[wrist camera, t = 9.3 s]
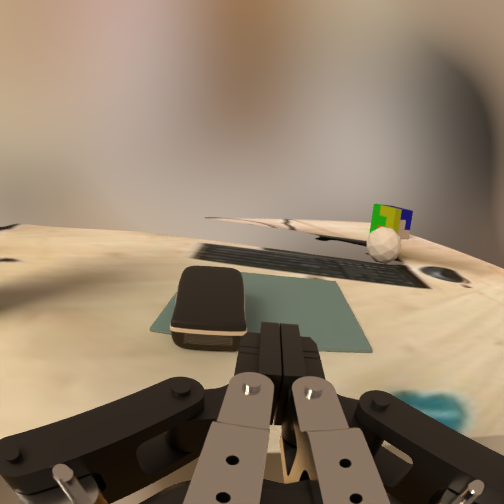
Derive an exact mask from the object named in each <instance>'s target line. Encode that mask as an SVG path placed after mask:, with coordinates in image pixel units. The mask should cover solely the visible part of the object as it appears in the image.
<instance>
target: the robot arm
mask: <svg viewBox="0 0 504 504" xmlns="http://www.w3.org/2000/svg"><path fill="white" fill-rule="evenodd" d="M318 352H319V351H318V347H317V344H316V343H315V342H314V341H313V340H312V339H311V338H310V337H302V336H300V331H299V325H298V324H286V323H280V327H279V323H274V322H263V321H261V328H260V333H254V332H247V333H245V334H244V335H243V336H242V337H241V340H240V346H239V351H238V357H237V363H236V368H235V374H234V377H232V378H231V380H230V382H229V384H227V385H226V386H223V387H221V388H216V389H205V390H204V388H203V386H202V385H201V384H200V383H199V382H198V381H196V380H194V379H191V378H187V377H173V378H169V379H167V380H164V381H162V382H160V383H158V384H155V385H153V386H150V387H148V388H146V389H143V390H141V391H138V392H136V393H134V394H131V395H129V396H126V397H124V398H121V399H118V400H116V401H113V402H111V403H108V404H105V405H103V406H100V407H97V408H95V409H92V410H89V411H87V412H84V413H81V414H78V415H75V416H72V417H70V418H67V419H64V420H61V421H58V422H55V423H52V424H48V425H45V426H42V427H39V428H36V429H32V430H29V431H26V432H22V433H19V434H15V435H12V436H8V437H5V438H2V439H0V475H1V476H2V477H3V479H4V480H5V481H6V483H7V485H8V486H9V487H10V488H11V490H12V491H13V492H14V493H15V494H16V495H17V497H18V500H19V502H20V504H110V503H113V502H115V501H117V500H119V499H122V498H124V497H126V496H128V495H130V494H132V493H134V492H136V491H138V490H140V489H142V488H144V487H146V486H148V485H150V484H152V483H154V482H156V481H158V480H159V479H161V478H163V477H165V476H167V475H169V474H170V473H172V472H174V471H176V470H177V469H179V468H181V467H183V466H184V465H186V464H188V463H190V462H191V461H193V460H194V459H196V458H198V457H199V456H200V457H199V460H198V463H197V466H196V469H195V471H194V474H193V477H192V480H190V481H186V482H181V483H178V484H175V485H172V486H170V487H168V488H166V489H164V490H162V491H160V492H158V493H157V494H155V495H153V496H152V497H150V498H148V499H147V500H145V501H143V502H141V503H139V504H504V456H503V455H501V454H499V453H497V452H495V451H493V450H491V449H489V448H487V447H485V446H483V445H481V444H479V443H477V442H475V441H473V440H472V439H470V438H468V437H466V436H464V435H462V434H460V433H458V432H457V431H455V430H453V429H451V428H449V427H447V426H445V425H444V424H442V423H440V422H438V421H436V420H435V419H433V418H431V417H429V416H427V415H426V414H424V413H422V412H420V411H419V410H417V409H415V408H413V407H412V406H410V405H408V404H406V403H405V402H403V401H401V400H400V399H398V398H396V397H394V396H393V395H391V394H389V393H387V392H384V391H378V390H374V391H368V392H366V393H364V394H363V395H362V396H361V397H360V399H359V400H356V399H351V398H347V397H343V396H340V395H338V394H336V391H335V389H334V387H333V385H332V384H331V383H330V382H328V381H327V380H325V376H324V372H323V368H322V363H321V359H320V355H319V353H318ZM273 419H274V425H282V433H281V437H280V451H281V459H282V467H283V475H284V484H282V483H278V482H273V481H270V480H266V479H263V477H264V470H265V463H266V456H267V448H268V441H269V432H270V429H269V425H272V424H273ZM384 440H385V441H387V442H388V443H390V444H391V445H393V446H395V447H396V448H398V449H399V450H401V451H402V452H404V453H406V454H407V455H409V456H410V457H411V458H412V461H413V464H409V463H407V462H406V461H404V460H402V459H401V458H399V457H398V456H396V455H395V454H393V453H391V452H390V451H388V450H387V449H385V448H384V447H382V446H381V445H382V443H383V441H384Z"/></svg>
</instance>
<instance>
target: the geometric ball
mask: <svg viewBox="0 0 504 504" xmlns="http://www.w3.org/2000/svg"><path fill="white" fill-rule="evenodd" d="M367 250H368V253H369V255H370V256H371V257H372V258H373V259H374V261H376V262H381V263H385V264H386V263H388V262H390V261H392V260H395V259H396V258H397V256H398V254H399V252H400V250H401V241H400V237H399V236H398V234H397V233H396V232H395V231H394V230H393V229H391V228H386V227H380V228H378V229H376V230H374V231H372V232H371V234H370V236H369V238H368V240H367Z"/></svg>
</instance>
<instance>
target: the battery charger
mask: <svg viewBox="0 0 504 504" xmlns="http://www.w3.org/2000/svg"><path fill="white" fill-rule="evenodd" d="M170 330H171V335H172V338H173V341H174V343H175V344H176V345H178V346H179V347H182V348H188V349H199V350H216V351H233V350H237V349H239V346H240V340H241V337H242V336H243V335H244V334H245V333H247V325H246V317H245V290H244V283H243V278H242V275H241V273H240V272H239V271H238V270H236V269H233V268H226V267H212V266H190V267H187V268H186V269H185V270H184V271H183V273H182V276H181V279H180V282H179V286H178V290H177V295H176V301H175V308H174V312H173V315H172V319H171V323H170Z"/></svg>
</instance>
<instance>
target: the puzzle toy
mask: <svg viewBox="0 0 504 504" xmlns="http://www.w3.org/2000/svg"><path fill="white" fill-rule="evenodd" d="M412 213H413V211H411V210H407V209H402V208H398V207H394V206H388V205H380V204H374V207H373V214H372V221H371V228H370V232H372V231H374V230H376V229H378V228H380V227H386V228H391V229H393V230H394V231H395V232H396V233H397V234H398V236H399V237H400V239H408V237H409V231H410V225H411V220H412Z"/></svg>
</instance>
